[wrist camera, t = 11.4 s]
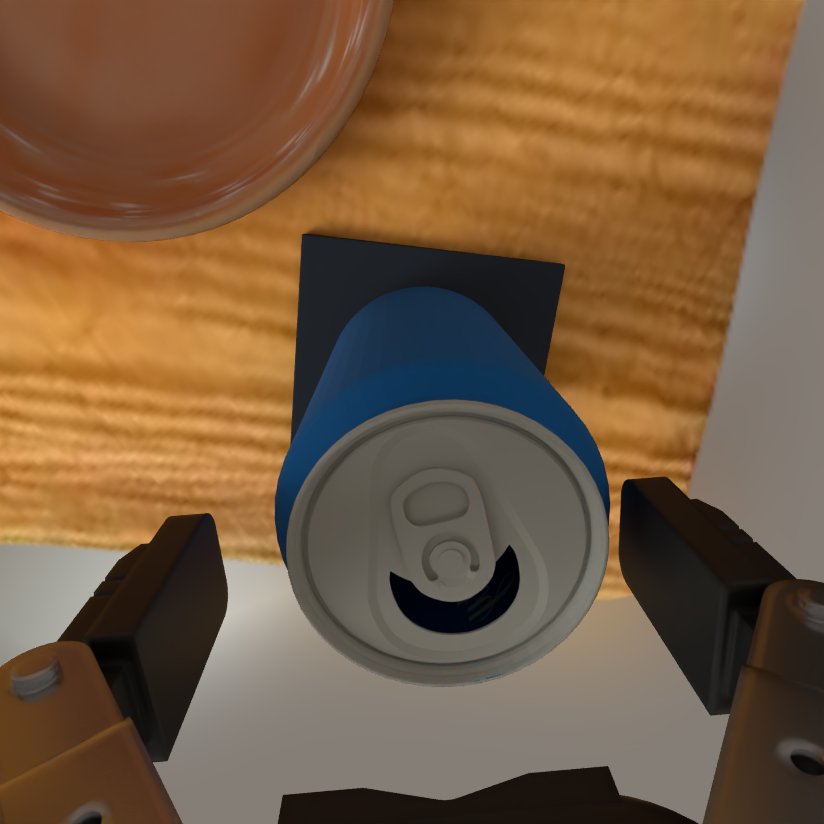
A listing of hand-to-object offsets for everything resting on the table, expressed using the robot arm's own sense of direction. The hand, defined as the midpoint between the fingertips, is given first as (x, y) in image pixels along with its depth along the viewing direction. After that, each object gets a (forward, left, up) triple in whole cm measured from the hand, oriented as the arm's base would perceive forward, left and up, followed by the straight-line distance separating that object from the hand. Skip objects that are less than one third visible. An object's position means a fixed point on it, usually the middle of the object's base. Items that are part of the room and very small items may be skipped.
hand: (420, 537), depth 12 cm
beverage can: (+1, 0, -11) cm, 11 cm away
